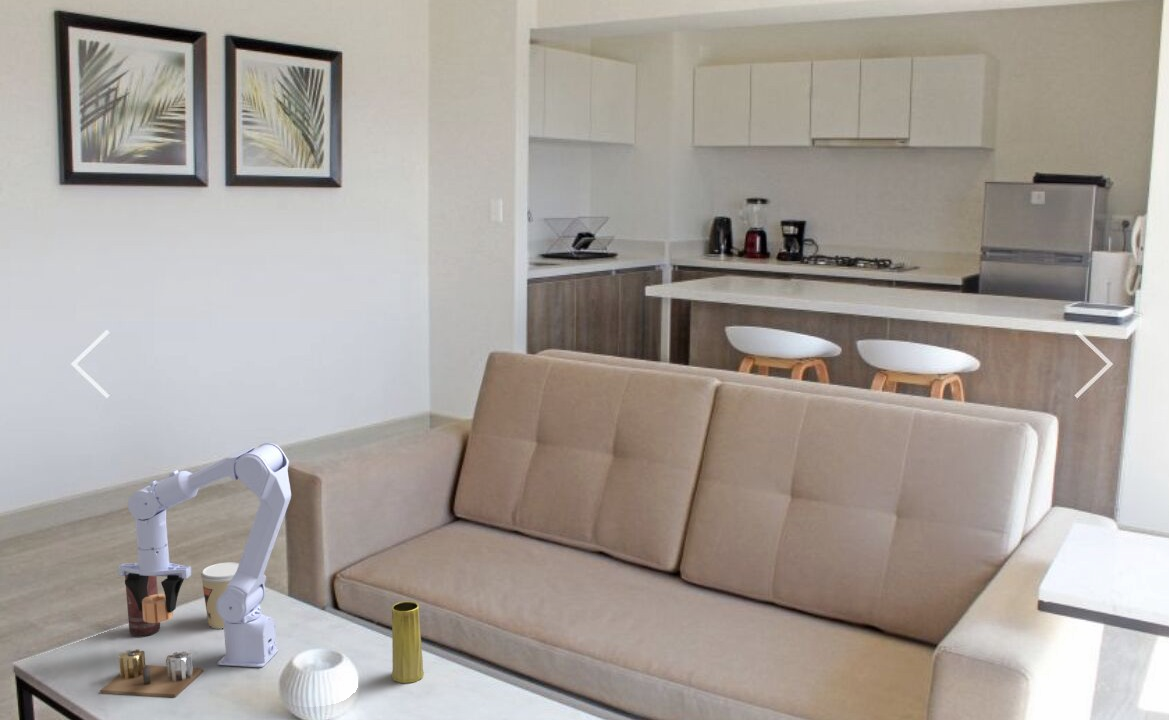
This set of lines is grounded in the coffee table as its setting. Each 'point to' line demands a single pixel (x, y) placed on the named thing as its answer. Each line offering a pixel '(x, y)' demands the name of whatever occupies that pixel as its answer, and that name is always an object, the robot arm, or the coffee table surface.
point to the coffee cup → (216, 588)
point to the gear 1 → (131, 664)
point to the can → (135, 616)
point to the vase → (406, 643)
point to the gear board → (150, 683)
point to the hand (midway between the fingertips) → (157, 610)
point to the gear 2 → (179, 666)
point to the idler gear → (155, 609)
